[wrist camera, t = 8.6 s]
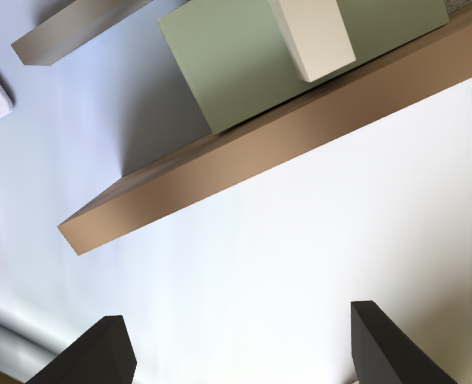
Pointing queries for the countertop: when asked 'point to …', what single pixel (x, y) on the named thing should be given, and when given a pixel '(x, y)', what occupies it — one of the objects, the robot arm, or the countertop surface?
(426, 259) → the countertop surface
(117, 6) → the wall board
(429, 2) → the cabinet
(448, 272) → the countertop surface
